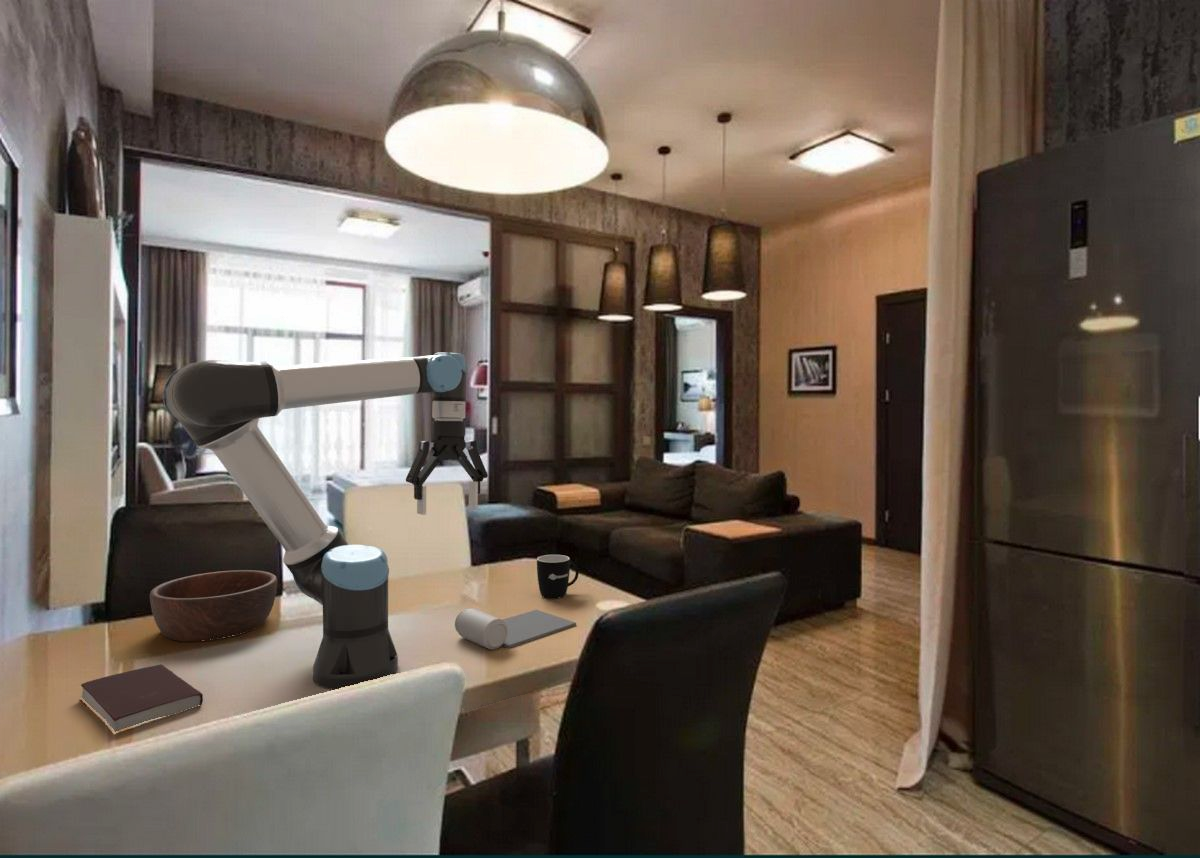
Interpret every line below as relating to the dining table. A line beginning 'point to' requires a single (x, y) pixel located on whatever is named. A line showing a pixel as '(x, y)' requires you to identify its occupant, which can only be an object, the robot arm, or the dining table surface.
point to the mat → (533, 626)
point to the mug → (554, 575)
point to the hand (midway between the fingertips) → (448, 511)
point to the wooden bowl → (213, 604)
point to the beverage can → (481, 628)
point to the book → (139, 696)
